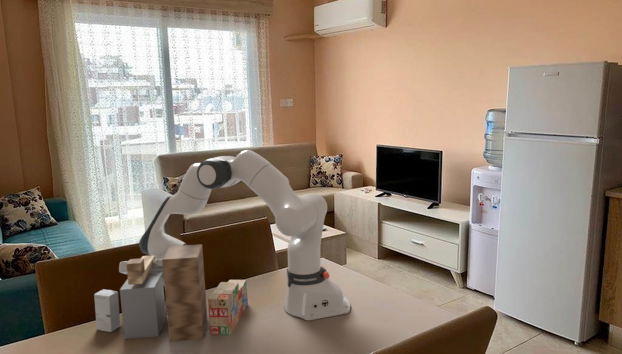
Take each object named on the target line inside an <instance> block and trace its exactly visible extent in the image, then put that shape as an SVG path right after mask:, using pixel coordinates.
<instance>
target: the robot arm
mask: <svg viewBox="0 0 622 354" xmlns="http://www.w3.org/2000/svg"><path fill="white" fill-rule="evenodd" d="M242 182H243V183H244V184H245V185H246V186H247V187H248V188H249V189H250V190H251V191H253V193H255V194H256V196H258V197H259V198H260V199H261V200H262V201H263V202H264V203H265V204H266V205H267V207H268V208H269V210H270V211H271V212H272V213H271V214H273V216H274V220H275V226H276V229H277V230H278V232H280V234H282V235H284V236H286V237H290V239H289V242H288V245H287V269H286V284H287V295H286V301H285V307H284V310H285V312H287V314H289V315H291V316H294V317H297V318H301V319H303V320H304V321H313V320H318V319H319V320H320V319H324V318H325V319H326V318H329V317H336V316H340V315H345V314H349V313H350V311H351V304H350V300H349V299H348V297H346V296H345V295H343V291H342V288H341V287H340V285H338V283H336V282H335V281H333V280H331V278H330V273H329V272H328V271H327V269H326V268H325V266H321V243H322V236H323V233H324V232H323V230H324V224H325V219H326V215H327V212H328V203H327V201H326V199H325V197H323V196H322V195H320V194H319V193H305V194H303V195H301V196H298V195H297V194H296V192H295V191H294V190H293V188H292V186H291V185H290V180H289V178H288V177H287V176H285V174H283V173H282V172H281V171H280V170H279V169H278V168H277V167H275V166H274V165H273V164H272V163H271V162H270V161H268V160H267V159H266V158H264V157H263V156H262V155H260V154H258V153H257V152H255V151H253V150H251V149H245V150H241V151H240V152H239V153H238V154H236V155H221V156H215V157H211V158H208V159H205V160H203V161H202V162H195V163H193V164H191V165H190V166H189V167H188V169H187V171H186V173H185V174H184V176H183V178H182V180H181V183H180V186H179V188H178V190H177V192H176V193H174V194H170V195H168V196H167V197H166V198H165V199H164V200H163V202H162V204H161V205H160V207H159V208H158V210H157V212H156V214H155V215H154V217H153V219H152V220H151V222H150V224H149V226H148V227H147V229H146V231H144V233H143V234H142V236H141V238H140V239H139V242H138V245H139V248H140V251H141V253H142V254H145V255H146V256H152V255H155V259H154V260H152V265H153V267H152V269H151V270H150V272H149V273H161V272H162V276H163V286H165V284H164V273H163V261H162V259H163V258H164V256H165V254H166V252H167V251H168V249H169V247H170V246H185V245H188V244H187V243H186V242H184V241H182V240H180V239H178V238H176V237H174V236H172V235H169V234H168V233H166V232H164V231H163V227H164V225H165V224H166V222H167V221H168V219H169V217H170V215H174V214H175V215H176V214H177V215H187V216H188V215H194V214H198V213H200V212H202V210H204V208H205V207H206V205H207V203H208V201H209V198H210V195H211V192H212V190H218V189H221V188H222V189H223V188H229V187H232V186H235V185H238V184H241V183H242ZM128 261H129V260H125V261H120V262H119V265H118V272H119V273H121V274H124V275H127V265H126V264H127V263H128Z"/></svg>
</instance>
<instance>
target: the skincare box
mask: <svg viewBox="0 0 622 354" xmlns="http://www.w3.org/2000/svg"><path fill="white" fill-rule="evenodd" d="M93 297H94V310H95V311H94V312H95V323H96V325H95V326H96V330H97V331H102V332H108V333H112V332H114V331H115V330H117V329H118V328H119V327H120V326H121V318H120V303H119V292H118V291H116V290H112V289H104V288H103V289H101V290H99V291H97V292H95V293H94V295H93Z"/></svg>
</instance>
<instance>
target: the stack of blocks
mask: <svg viewBox="0 0 622 354" xmlns="http://www.w3.org/2000/svg"><path fill="white" fill-rule="evenodd" d="M248 300H249V299H248V288H247V280H246V279H229V280H228V281H227V282H226V281H220V282H219V284H218V286H217V287H216V288H215V289H214V290H213V291H212V292H211V294H210V295H209V296H208V297H207V303H208V304H207V305H208V317H209V318H208V319H209V331H210V332H209V334H210V336H211V335H213V336H214V335H216V336H217V335H218V336H230V335H231V333H232V332H233V330H234V329H235V327H236V325H237V323H238V322H239V321H240V318H241V316H242V314H243V313H244V311H245V310H246V308H247V306H248V305H249V302H248Z"/></svg>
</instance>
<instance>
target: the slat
mask: <svg viewBox="0 0 622 354" xmlns="http://www.w3.org/2000/svg"><path fill="white" fill-rule="evenodd" d="M154 259H155V255H152V256H150V255H142V256H141V257H140V258H130V259H129V260H127V261H128V263H127V264H126V265H127V274H126V275H127V279H128V285H131V284H142V283H143V282H144V280H145V279H146V277H147V275H148V274H149V272H150V270H151V269H152V267H153V265H152V260H154Z"/></svg>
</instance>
